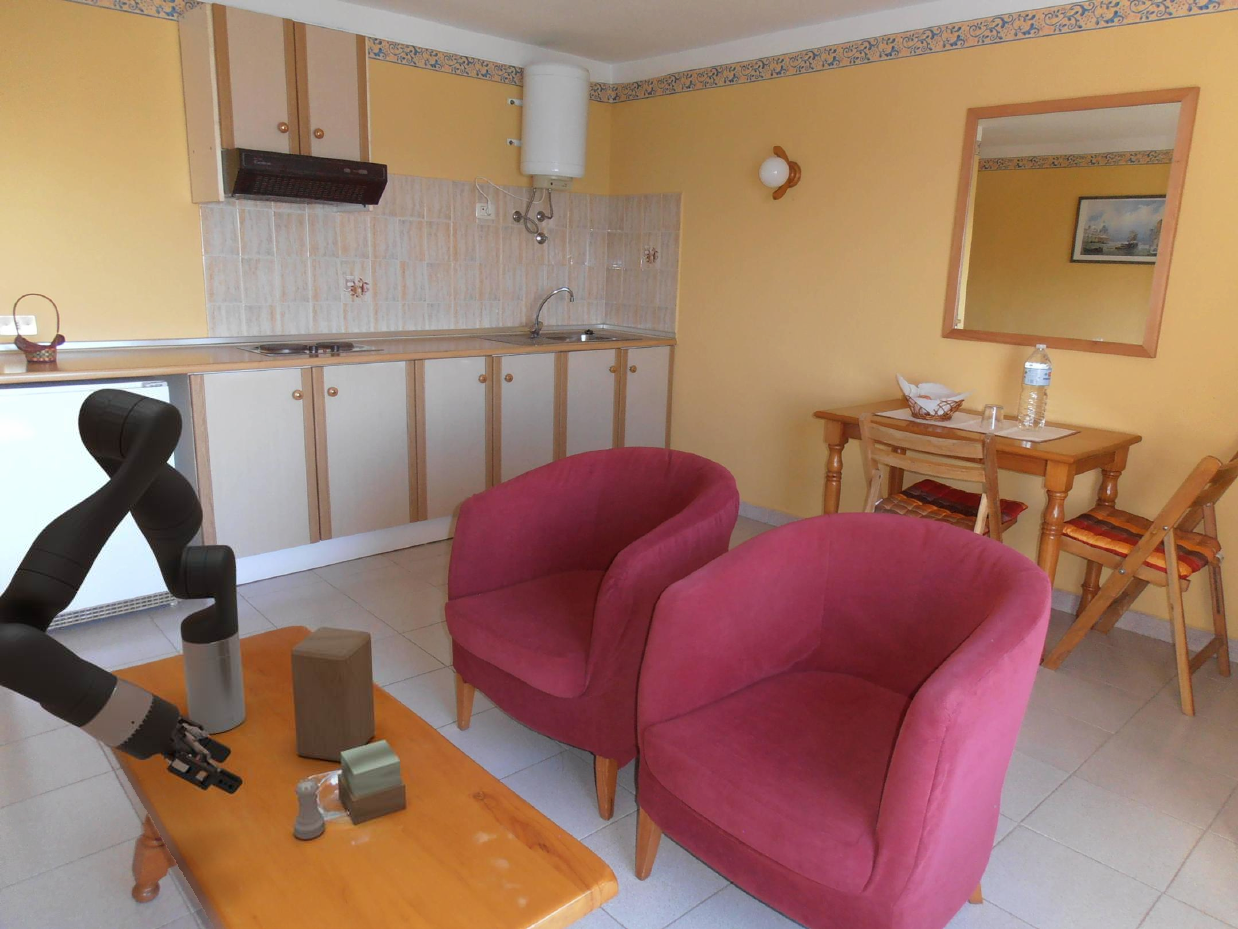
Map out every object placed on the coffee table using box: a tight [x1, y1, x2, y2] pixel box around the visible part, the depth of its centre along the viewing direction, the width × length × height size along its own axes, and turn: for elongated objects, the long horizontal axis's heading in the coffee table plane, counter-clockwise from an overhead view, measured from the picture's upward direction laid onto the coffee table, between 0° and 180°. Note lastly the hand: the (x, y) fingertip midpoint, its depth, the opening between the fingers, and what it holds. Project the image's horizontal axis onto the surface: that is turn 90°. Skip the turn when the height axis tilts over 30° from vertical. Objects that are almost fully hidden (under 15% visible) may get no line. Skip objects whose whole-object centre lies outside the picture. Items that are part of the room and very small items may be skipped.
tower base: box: [337, 739, 407, 826], centre depth 133 cm, size 8×8×8 cm
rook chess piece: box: [293, 777, 326, 841], centre depth 126 cm, size 4×4×8 cm
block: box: [290, 626, 376, 763], centre depth 147 cm, size 10×10×20 cm
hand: (232, 771), depth 119 cm, fingers open, 8 cm apart
